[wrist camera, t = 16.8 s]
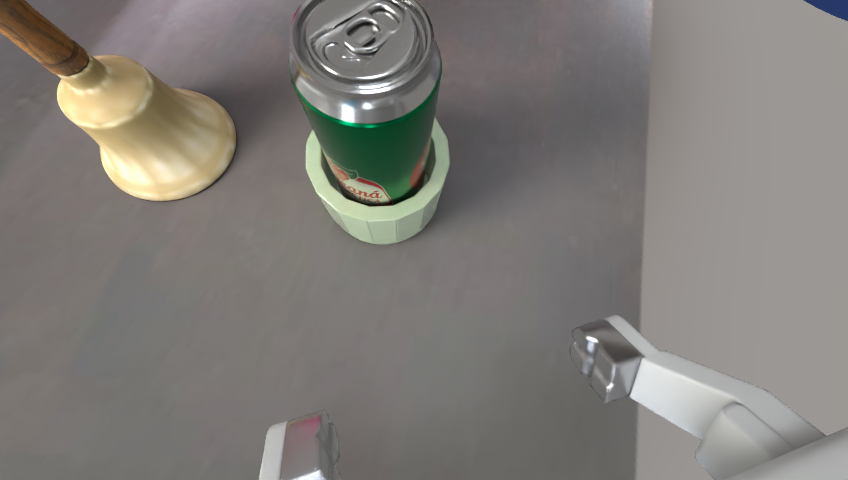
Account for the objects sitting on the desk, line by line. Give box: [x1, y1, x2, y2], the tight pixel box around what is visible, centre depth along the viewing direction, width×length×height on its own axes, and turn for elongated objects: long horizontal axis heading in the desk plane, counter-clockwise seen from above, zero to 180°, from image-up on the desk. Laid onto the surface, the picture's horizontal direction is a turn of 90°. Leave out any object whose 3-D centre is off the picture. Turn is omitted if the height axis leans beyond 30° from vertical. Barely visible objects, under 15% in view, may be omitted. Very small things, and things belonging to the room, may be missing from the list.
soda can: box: [288, 0, 442, 207], centre depth 15 cm, size 5×5×12 cm
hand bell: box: [0, 0, 236, 201], centre depth 14 cm, size 8×8×16 cm
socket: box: [306, 117, 450, 244], centre depth 19 cm, size 8×8×5 cm
